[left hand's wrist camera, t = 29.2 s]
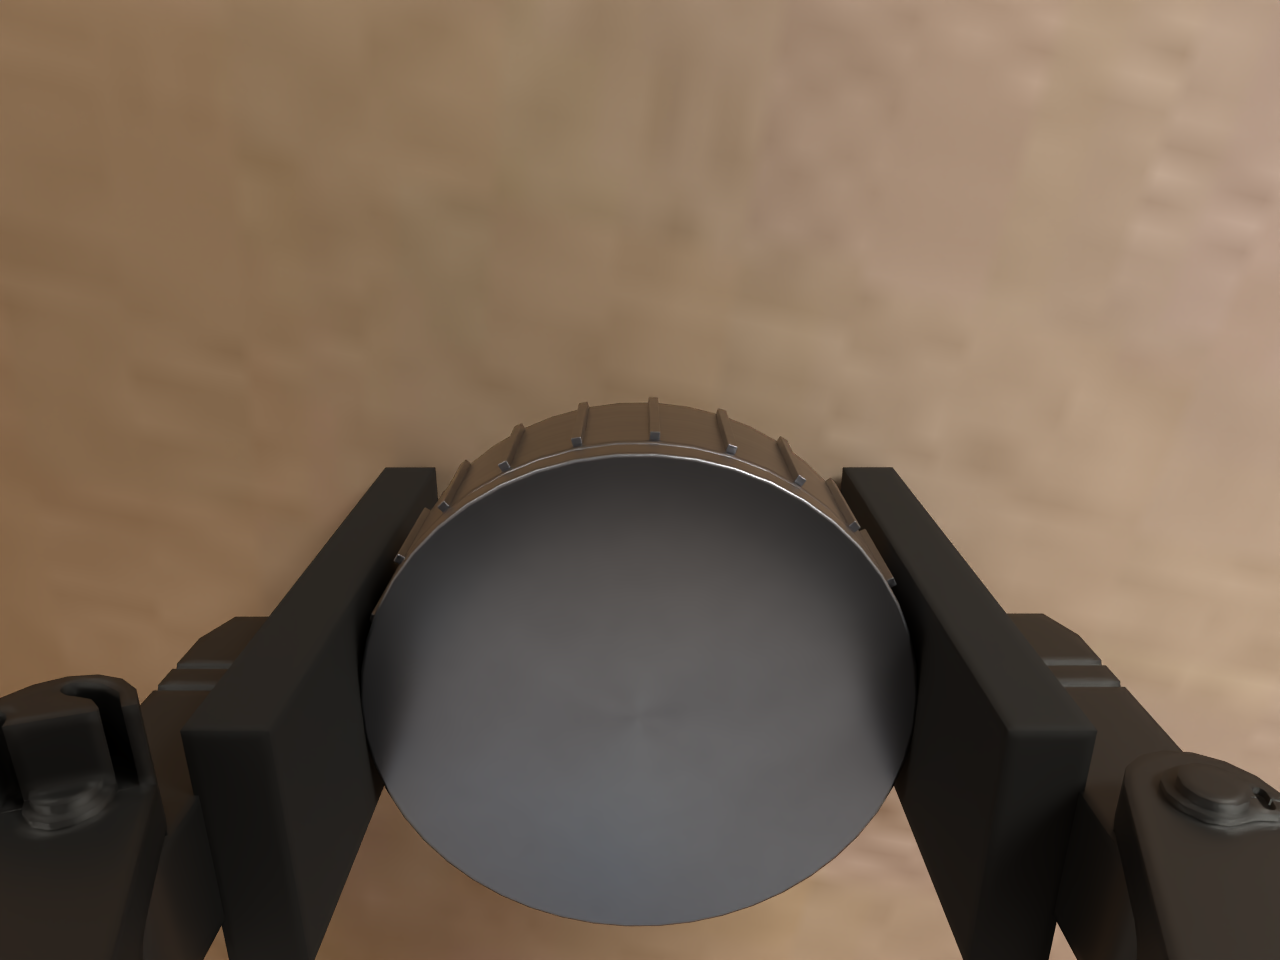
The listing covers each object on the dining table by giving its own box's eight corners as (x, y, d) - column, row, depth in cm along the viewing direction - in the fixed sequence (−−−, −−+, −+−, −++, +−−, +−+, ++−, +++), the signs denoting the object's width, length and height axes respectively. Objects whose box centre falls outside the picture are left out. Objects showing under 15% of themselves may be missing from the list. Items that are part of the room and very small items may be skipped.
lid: (608, 285, 10) (601, 316, 9) (981, 604, 12) (1043, 689, 10) (303, 651, 12) (243, 743, 10) (662, 891, 14) (666, 1007, 12)
